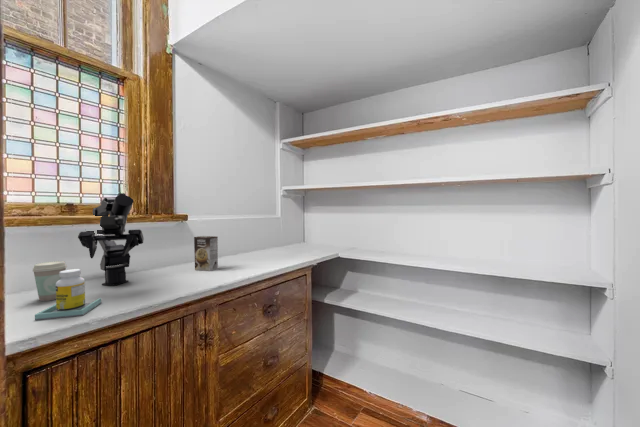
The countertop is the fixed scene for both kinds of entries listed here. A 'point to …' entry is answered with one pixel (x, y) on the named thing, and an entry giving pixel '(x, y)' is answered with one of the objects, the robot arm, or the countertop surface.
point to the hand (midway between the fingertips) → (107, 256)
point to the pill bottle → (70, 291)
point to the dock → (53, 313)
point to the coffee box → (206, 253)
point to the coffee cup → (48, 278)
